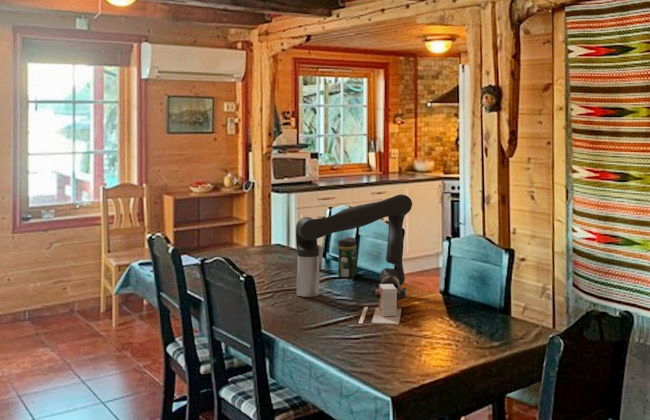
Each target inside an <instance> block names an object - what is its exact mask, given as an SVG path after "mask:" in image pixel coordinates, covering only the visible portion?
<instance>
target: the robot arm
mask: <svg viewBox="0 0 650 420" xmlns="http://www.w3.org/2000/svg"><path fill="white" fill-rule="evenodd" d="M412 207H413V200H412V199H411V198H410V197H409V196H408V195H406V194H397V195H394V196H391V197H389V198H386V199H383V200H380V201H375V202H369V203H365V204H359V205H355V206H350V207H347V208H344V209H342V210H340V211H338V212H336V213H333V214H332V215H330V216H325V217H321V218H320V217H319V218H313V217H309V216H303V217H301V218H300V219H299V220H298V221H297V223H296V226H295V247H296V250H297V253H296V254H297V273H296V296H297V297H298V296H299V297H303V298H311V297H312V298H313V297H318V296H320V270H319V248H318V245H319V244H318V239H320V238H322V237H325V236H328V235H331V234H334V233H340V232H344V231H349V230H353V229H357V228H361V227H365V226H368V225H370V224H372V223H374V222H375V223H376V222H377V221H379V220H381V219H385V218H388V234H387V235H388V236H387V244H386V253H385V262H387V263H389V264H391V265H394V266H395V267H396V268H389V267H385V268H382V269H381V271H380V273H379V279H380V280H379V281H380V284H393V285H394V286H395V288H396V289H397V301H398V300H400V299H401V298H402V299H405V298H406V295H407V288H406V287H403V288H401V289H400V287H401V286H403V284H404V283H405V280H406V276H405V271H404V266H403V265H404V264H403V259H404V258H403V255H404V236H403V225H404V219H405V217H406V215H407V214H409V213H410V211H411V210H412ZM370 292H371V297H372V298H373V297H374V298H375V299H376V300H379V287H378V288H376V287H375V286H371V291H370Z"/></svg>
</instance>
